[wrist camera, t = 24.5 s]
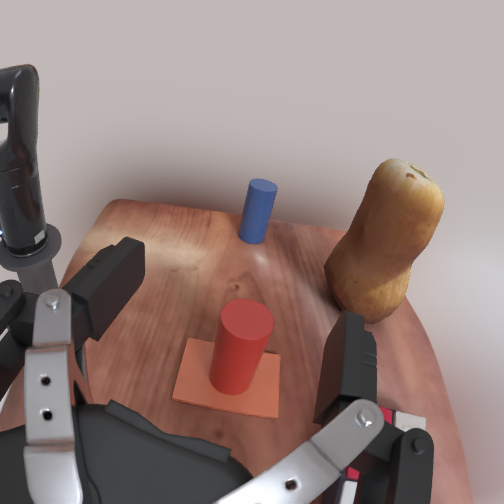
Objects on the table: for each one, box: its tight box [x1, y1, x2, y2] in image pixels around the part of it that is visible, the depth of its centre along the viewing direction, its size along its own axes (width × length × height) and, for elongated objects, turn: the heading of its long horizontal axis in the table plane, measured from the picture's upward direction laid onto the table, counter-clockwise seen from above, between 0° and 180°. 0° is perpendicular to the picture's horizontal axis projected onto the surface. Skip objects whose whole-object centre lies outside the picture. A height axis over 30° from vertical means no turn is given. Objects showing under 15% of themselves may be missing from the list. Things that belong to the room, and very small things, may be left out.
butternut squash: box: [324, 159, 444, 324], centre depth 43 cm, size 14×13×25 cm
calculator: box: [322, 406, 426, 504], centre depth 26 cm, size 11×4×15 cm
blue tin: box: [238, 179, 278, 244], centre depth 57 cm, size 5×5×11 cm
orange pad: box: [172, 337, 280, 419], centre depth 35 cm, size 12×9×1 cm
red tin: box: [209, 299, 274, 395], centre depth 32 cm, size 5×5×11 cm
